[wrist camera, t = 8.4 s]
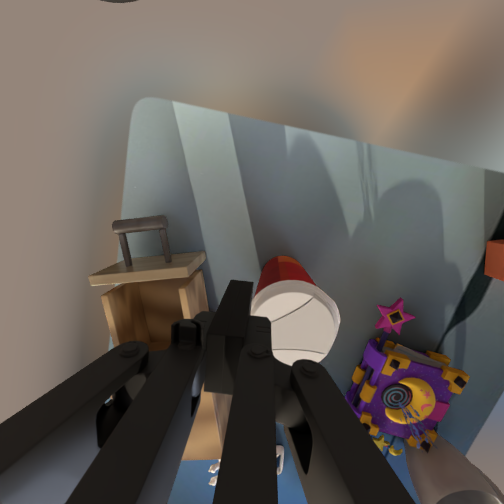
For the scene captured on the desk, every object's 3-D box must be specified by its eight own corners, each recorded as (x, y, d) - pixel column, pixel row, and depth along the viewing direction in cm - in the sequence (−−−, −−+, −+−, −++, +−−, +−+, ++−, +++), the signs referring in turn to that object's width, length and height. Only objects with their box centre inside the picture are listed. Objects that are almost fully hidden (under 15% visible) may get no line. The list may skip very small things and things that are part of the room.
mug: (384, 453, 41) (418, 531, 32) (404, 411, 39) (447, 480, 29) (455, 472, 41) (511, 555, 31) (479, 430, 39) (546, 506, 29)
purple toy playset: (318, 425, 40) (338, 520, 29) (374, 286, 35) (430, 333, 23) (404, 448, 40) (461, 554, 29) (474, 313, 35) (583, 375, 23)
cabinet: (141, 322, 38) (100, 363, 29) (221, 316, 37) (205, 357, 28) (159, 402, 41) (128, 462, 32) (233, 398, 40) (223, 459, 31)
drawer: (117, 219, 34) (74, 226, 26) (198, 209, 33) (177, 214, 25) (146, 343, 38) (115, 380, 30) (218, 338, 37) (206, 375, 29)
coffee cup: (261, 307, 37) (257, 382, 22) (247, 255, 35) (232, 298, 20) (318, 295, 36) (353, 365, 21) (306, 240, 34) (334, 275, 19)
